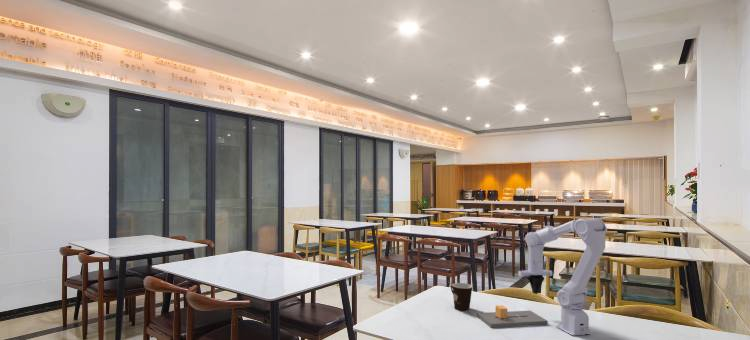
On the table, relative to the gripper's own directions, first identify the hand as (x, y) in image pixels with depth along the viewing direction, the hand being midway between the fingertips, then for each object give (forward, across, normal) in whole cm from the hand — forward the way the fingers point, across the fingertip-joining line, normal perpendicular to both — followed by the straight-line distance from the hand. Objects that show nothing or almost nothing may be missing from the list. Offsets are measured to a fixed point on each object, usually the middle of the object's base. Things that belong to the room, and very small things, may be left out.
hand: (535, 293), depth 163 cm
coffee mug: (+10, +27, -14) cm, 32 cm away
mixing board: (+9, +13, +4) cm, 17 cm away
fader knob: (+8, +17, +4) cm, 19 cm away
